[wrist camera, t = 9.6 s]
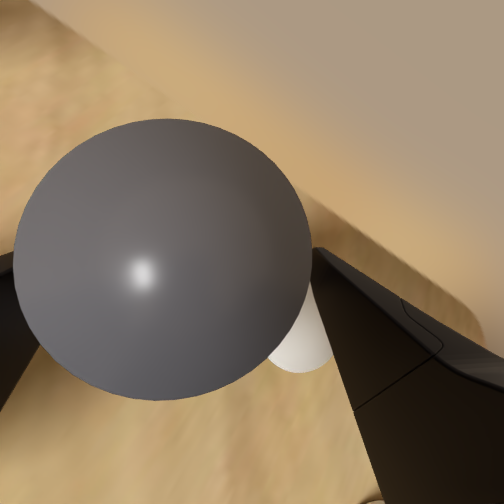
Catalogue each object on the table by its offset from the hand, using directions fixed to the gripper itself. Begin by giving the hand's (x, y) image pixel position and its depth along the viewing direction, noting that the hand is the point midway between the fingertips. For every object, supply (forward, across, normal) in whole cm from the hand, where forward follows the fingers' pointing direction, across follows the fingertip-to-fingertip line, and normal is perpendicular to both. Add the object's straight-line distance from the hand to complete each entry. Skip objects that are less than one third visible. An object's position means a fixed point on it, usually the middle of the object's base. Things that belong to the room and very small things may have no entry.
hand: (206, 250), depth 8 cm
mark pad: (+2, -7, +8) cm, 11 cm away
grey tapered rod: (+5, 0, +6) cm, 7 cm away
